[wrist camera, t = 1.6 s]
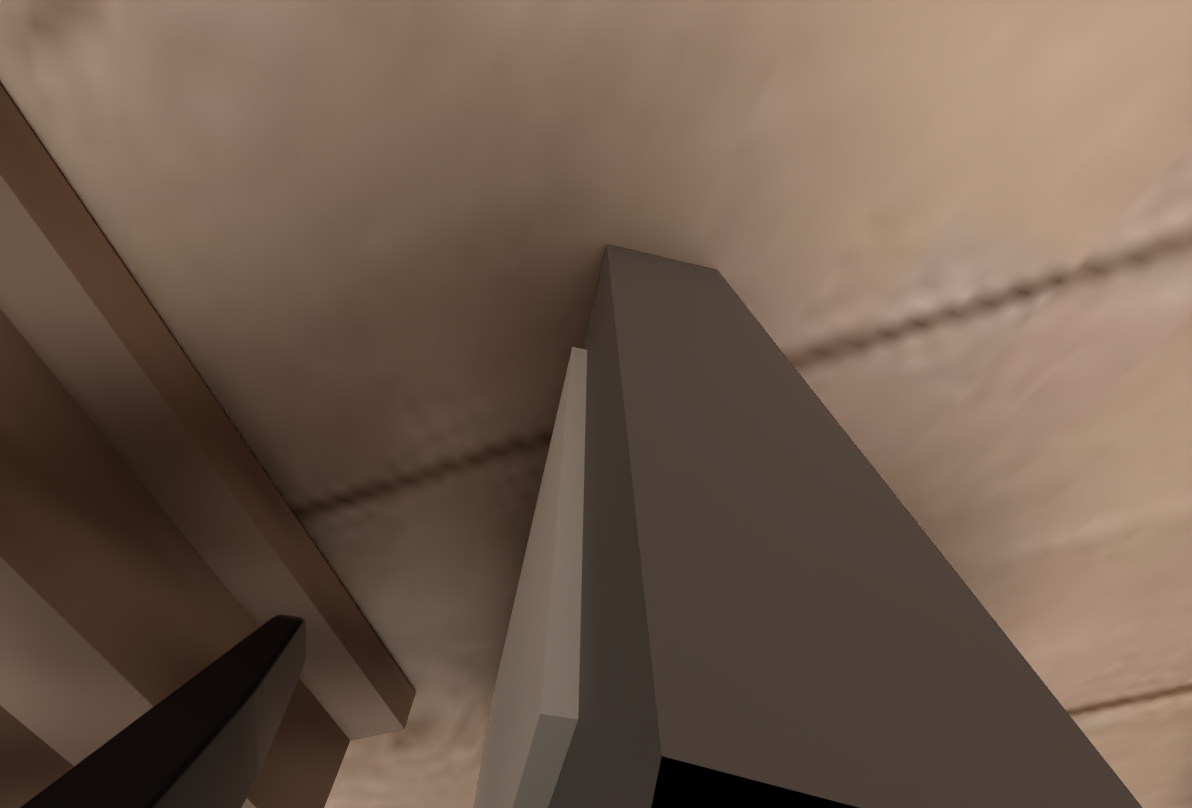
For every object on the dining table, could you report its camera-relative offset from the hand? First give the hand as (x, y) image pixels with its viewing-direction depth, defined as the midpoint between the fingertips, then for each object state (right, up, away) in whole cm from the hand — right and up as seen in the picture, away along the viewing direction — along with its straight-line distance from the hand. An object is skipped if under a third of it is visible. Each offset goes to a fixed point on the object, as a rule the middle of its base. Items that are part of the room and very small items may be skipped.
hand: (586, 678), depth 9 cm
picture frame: (0, +2, +3) cm, 4 cm away
